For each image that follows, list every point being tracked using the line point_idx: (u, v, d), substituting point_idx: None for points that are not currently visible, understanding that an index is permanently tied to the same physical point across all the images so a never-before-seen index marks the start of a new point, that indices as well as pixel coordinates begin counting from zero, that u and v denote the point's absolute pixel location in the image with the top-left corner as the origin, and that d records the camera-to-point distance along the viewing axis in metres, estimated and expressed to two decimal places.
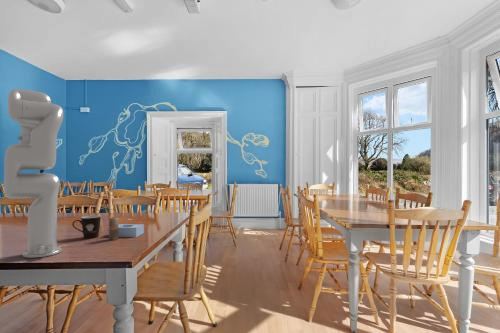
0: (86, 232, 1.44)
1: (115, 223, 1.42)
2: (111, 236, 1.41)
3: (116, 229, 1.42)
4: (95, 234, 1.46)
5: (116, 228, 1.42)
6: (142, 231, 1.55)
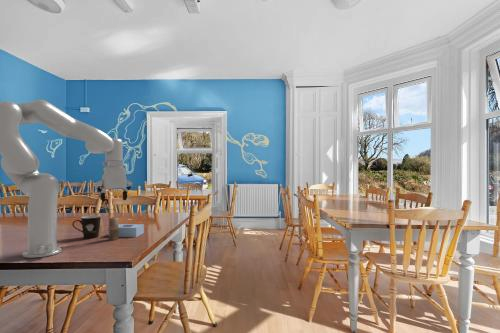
0: (86, 232, 1.44)
1: (115, 223, 1.42)
2: (111, 236, 1.41)
3: (116, 229, 1.42)
4: (95, 234, 1.46)
5: (116, 228, 1.42)
6: (142, 231, 1.55)
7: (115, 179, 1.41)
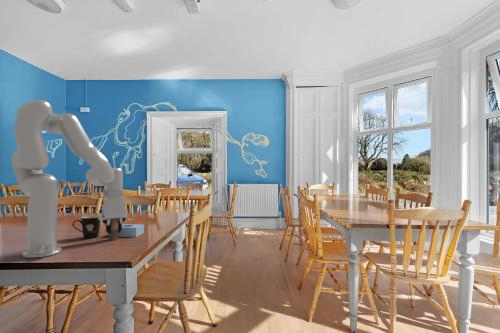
0: (86, 232, 1.44)
1: (115, 223, 1.42)
2: (111, 236, 1.41)
3: (116, 229, 1.42)
4: (95, 234, 1.46)
5: (116, 228, 1.42)
6: (142, 231, 1.55)
7: (115, 209, 1.41)
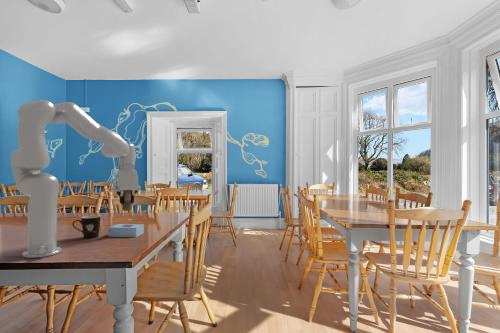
0: (86, 232, 1.44)
1: (128, 194, 1.52)
2: (124, 207, 1.51)
3: (129, 201, 1.52)
4: (95, 234, 1.46)
5: (129, 199, 1.52)
6: (142, 231, 1.55)
7: (128, 181, 1.51)
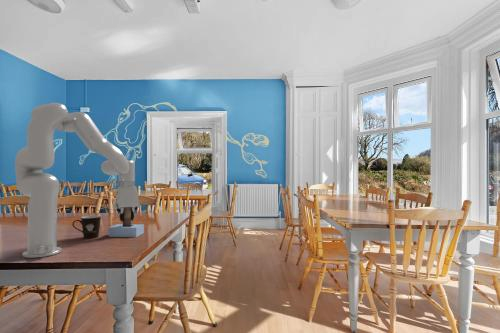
0: (86, 232, 1.44)
1: (128, 211, 1.52)
2: (124, 224, 1.51)
3: (129, 217, 1.52)
4: (95, 234, 1.46)
5: (129, 216, 1.52)
6: (142, 231, 1.55)
7: (128, 198, 1.51)
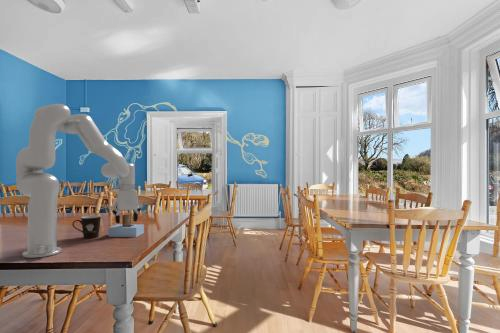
0: (86, 232, 1.44)
1: (128, 220, 1.52)
2: None
3: (129, 225, 1.52)
4: (95, 234, 1.46)
5: (129, 224, 1.52)
6: (142, 231, 1.55)
7: (128, 201, 1.51)
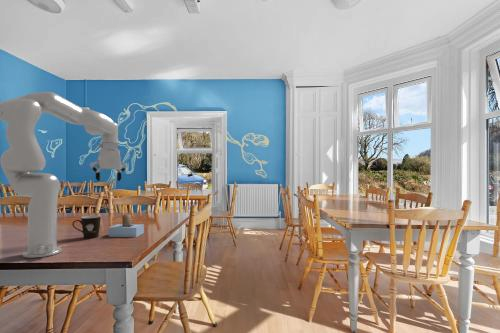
0: (86, 232, 1.44)
1: (128, 220, 1.52)
2: None
3: (129, 225, 1.52)
4: (95, 234, 1.46)
5: (129, 224, 1.52)
6: (142, 231, 1.55)
7: (110, 160, 1.50)
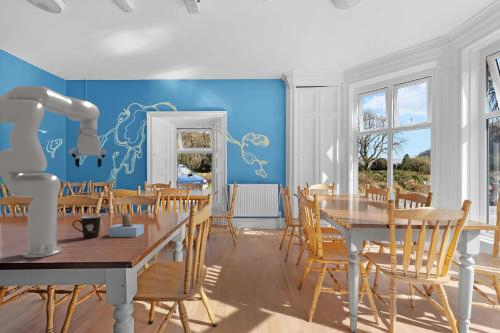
0: (86, 232, 1.44)
1: (128, 220, 1.52)
2: None
3: (129, 225, 1.52)
4: (95, 234, 1.46)
5: (129, 224, 1.52)
6: (142, 231, 1.55)
7: (89, 146, 1.50)
